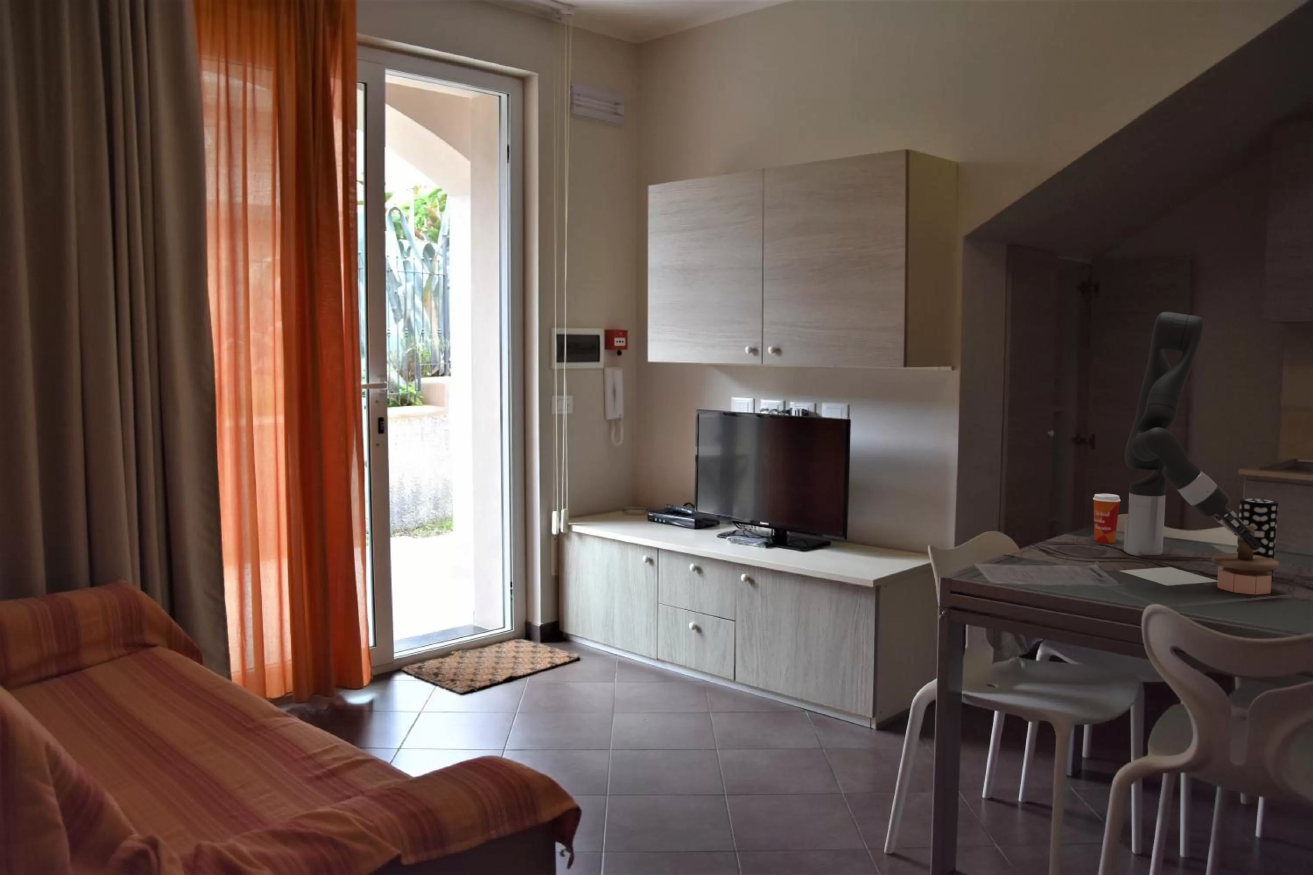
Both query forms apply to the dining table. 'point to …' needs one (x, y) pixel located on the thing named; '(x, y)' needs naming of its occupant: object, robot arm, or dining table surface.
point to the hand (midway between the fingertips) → (1255, 546)
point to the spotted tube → (1261, 523)
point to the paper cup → (1105, 517)
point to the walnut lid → (1245, 558)
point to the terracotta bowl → (1244, 581)
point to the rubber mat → (1169, 576)
